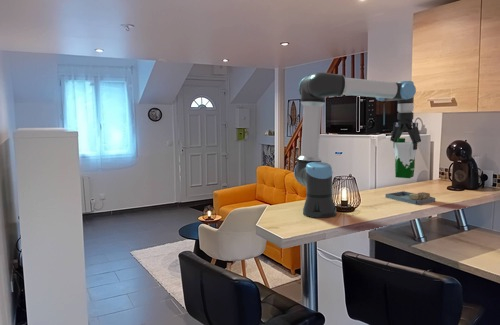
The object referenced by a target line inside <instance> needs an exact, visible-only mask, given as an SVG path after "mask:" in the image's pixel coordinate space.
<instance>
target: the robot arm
mask: <svg viewBox="0 0 500 325" xmlns="http://www.w3.org/2000/svg"><path fill="white" fill-rule="evenodd" d="M298 92H299V95H300V103H301V105H302V106H303V110H302V111H303V113H302V125H301V126H302V127H301V128H302V131H301V147H300V155H299V156H298V157H297V159H296V160H297V163H296V165H295V167H294V170H293V176H294V179H295V180H296V181H297V182H298V183H299V184H300V185H301V186H304V187H306V197H305V201H304V205H303V207H302V214H303V215H304V216H305V215H306V217H308V216H310V217H309V218H315V217H316V218H319V219H320V218H323V219H325V218H332V217H334V216H336V215H337V207H336V205H335V201H334V199H333V169H332V168H333V167H332V165H331V164H330V163H327V162H323V161H322V159H321V157H320V156H319V151H320V140H321V138H320V136H321V135H320V134H321V124H322V123H321V122H322V107H323V106H324V105H325V104H326V98H330V97H338V98H339V97H342V96H343V95H345V96H354V97H355V96H356V97H366V98H367V97H368V98H369V97H370V98H375V99H376V100H377V101H380V102H390V101H391V102H392V101H397V112H398V113H397V120H398V121H397V122H393V124H392V125H393V126H392V127H393V128H392V131H391V136H390V139H389V140H390V142H392V143H393V152H394V153H393V155H394V156H395V143H396V142H397V138H401V136H402V135H403V132H404V131H405V132H407V133H408V136H409V137H410V140H411V142H412V143H411V156H415V157H417V150H418V143H420V142H422V140H421V135H420V131H419V123H418V122H413V120H414V106H415V105H414V104H415V103H414V97H415V95H416V93H417V88H416V86H415V82H414V81H412V80H403V81H398V82H394V81H384V80H376V79H375V80H374V79H365V78H362V79H361V78H355V77H352V78H351V77H345V75H344V74H336V73H330V72H325V71H322V72H316V73H312V74H308V75H306V76H305V77H303V78H302V79H301V80H300V82H299V84H298ZM316 218H315V219H316Z"/></svg>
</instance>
